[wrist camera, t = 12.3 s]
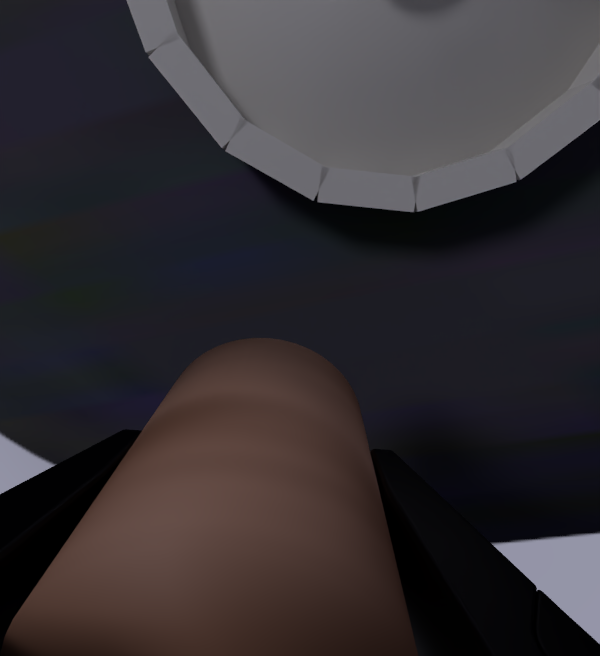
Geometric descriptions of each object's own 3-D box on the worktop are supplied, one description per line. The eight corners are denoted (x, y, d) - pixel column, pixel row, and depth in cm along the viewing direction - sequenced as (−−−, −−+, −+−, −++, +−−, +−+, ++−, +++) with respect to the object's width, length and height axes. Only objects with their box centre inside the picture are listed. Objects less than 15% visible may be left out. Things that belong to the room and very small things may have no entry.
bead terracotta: (350, 513, 10) (391, 827, 5) (169, 500, 10) (35, 803, 5) (374, 345, 8) (467, 563, 3) (161, 329, 8) (-43, 526, 3)
